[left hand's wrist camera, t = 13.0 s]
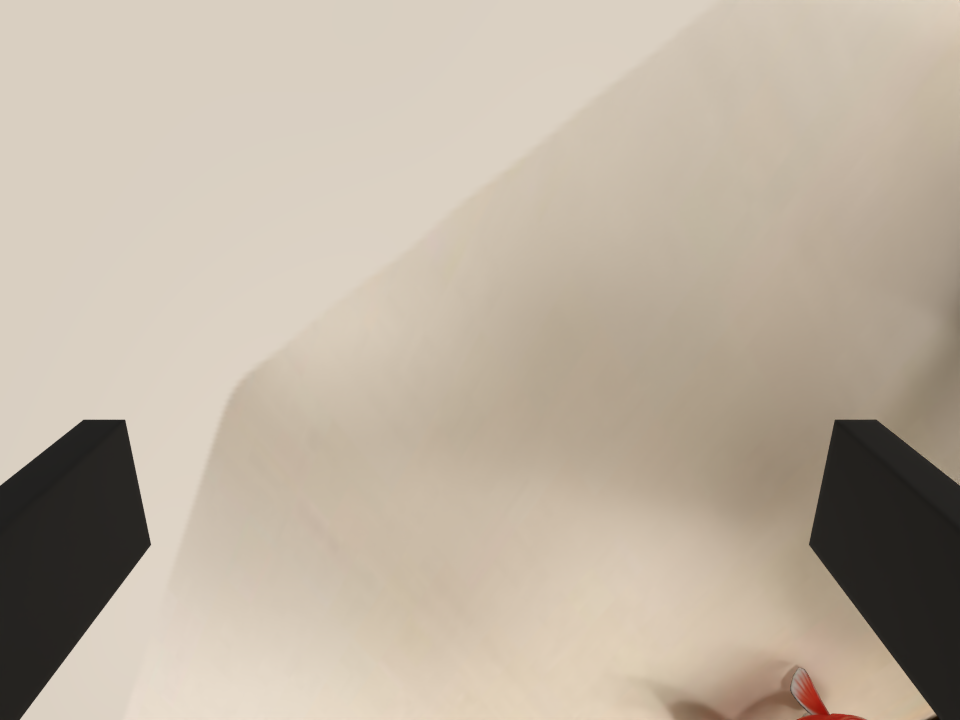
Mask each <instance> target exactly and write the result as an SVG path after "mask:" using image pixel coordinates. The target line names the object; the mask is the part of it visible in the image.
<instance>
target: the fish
mask: <svg viewBox="0 0 960 720" xmlns="http://www.w3.org/2000/svg"><path fill="white" fill-rule="evenodd" d="M790 691H791V693H792V695H793V696H794V697H795V699H796V700H797V701H798V702H799V704H800V705H801V706H802V707H803V708H804V709H805V710H806V711H807V713H806V714H804V715H803V717H802V718H799V719H797V720H866V719H864V718H862V717H858V716H853V715H845V714H831V715H830V714H829V712H828V711H827V709H826V707H825V706H824V704H823V702H822V701H821V699H820V697H819V695H818V693H817V691H816V689H815V687H814V685H813V683H812V681H811V679H810V677H809V675H808V674H807V672H806V671H805V669H803V668H799V667H798V669H797V670H796V672H795V674H794V675H793V678H792V682H791V686H790Z"/></svg>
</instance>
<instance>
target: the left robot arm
mask: <svg viewBox="0 0 960 720" xmlns="http://www.w3.org/2000/svg"><path fill="white" fill-rule="evenodd" d="M150 545H151V543H150V538H149V533H148V528H147V523H146V518H145V514H144V509H143V504H142V499H141V494H140V489H139V485H138V480H137V475H136V470H135V465H134V460H133V456H132V451H131V446H130V441H129V436H128V431H127V427H126V422H125V420H83V421H82V422H80V423H79V424H78V425H77V426H75V427H74V428H73V429H71V430H70V431H69V432H68V433H66V434H65V435H64V436H63V437H61V438H60V439H59V440H57V441H56V442H55V443H54V444H52V445H51V446H50V447H49V448H47V449H46V450H45V451H44V452H42V453H41V454H40V455H39V456H37V457H36V458H35V459H33V460H32V461H31V462H30V463H29V464H27V465H26V466H25V467H23V468H22V469H21V470H20V471H18V472H17V473H16V474H15V475H13V476H12V477H11V478H9V479H8V480H7V481H6V482H4V483H3V484H2V485H1V486H0V720H20V719H21V717H22V716H23V714H24V713H25V712H26V710H27V709H28V708H29V707H30V705H31V704H32V702H33V701H34V700H35V699H36V697H37V696H38V695H39V693H40V692H41V691H42V689H43V688H44V687H45V685H46V684H47V682H48V681H49V680H50V679H51V677H52V676H53V675H54V673H55V672H56V671H57V669H58V668H59V667H60V665H61V664H62V663H63V661H64V660H65V659H66V657H67V656H68V654H69V653H70V652H71V651H72V649H73V648H74V647H75V645H76V644H77V642H78V641H79V640H80V639H81V637H82V636H83V635H84V633H85V632H86V631H87V629H88V628H89V627H90V625H91V624H92V622H93V621H94V620H95V619H96V617H97V616H98V615H99V613H100V612H101V611H102V609H103V608H104V607H105V605H106V604H107V603H108V601H109V600H110V599H111V597H112V596H113V595H114V593H115V592H116V591H117V589H118V588H119V587H120V585H121V584H122V583H123V581H124V580H125V579H126V577H127V576H128V575H129V573H130V572H131V571H132V569H133V568H134V567H135V565H136V564H137V563H138V561H139V560H140V559H141V557H142V556H143V555H144V553H145V552H146V551H147V549H148V548H149V547H150ZM809 545H810V547H811V548H812V549H813V551H814V552H815V553H816V555H817V556H818V557H819V559H820V560H821V561H822V563H823V564H824V565H825V567H826V568H827V569H828V571H829V572H830V573H831V575H832V576H833V577H834V579H835V580H836V581H837V583H838V584H839V585H840V587H841V588H842V589H843V591H844V592H845V593H846V595H847V596H848V597H849V599H850V600H851V601H852V603H853V604H854V605H855V607H856V608H857V609H858V611H859V612H860V613H861V615H862V616H863V617H864V619H865V620H866V621H867V623H868V624H869V625H870V627H871V628H872V629H873V631H874V632H875V633H876V635H877V636H878V637H879V639H880V640H881V641H882V643H883V644H884V645H885V647H886V648H887V649H888V651H889V652H890V653H891V655H892V656H893V657H894V659H895V660H896V661H897V663H898V664H899V665H900V667H901V668H902V669H903V671H904V672H905V673H906V675H907V676H908V677H909V679H910V680H911V681H912V683H913V684H914V685H915V687H916V688H917V689H918V691H919V692H920V693H921V695H922V696H923V697H924V699H925V700H926V701H927V703H928V704H929V705H930V707H931V708H932V709H933V711H934V712H935V713H936V715H937V716H938V717H939V719H940V720H960V486H959V485H958V484H957V483H956V482H954V481H953V480H952V479H951V478H949V477H948V476H947V475H945V474H944V473H943V472H942V471H940V470H939V469H938V468H937V467H935V466H934V465H933V464H932V463H930V462H929V461H928V460H927V459H925V458H924V457H923V456H921V455H920V454H919V453H918V452H916V451H915V450H914V449H913V448H911V447H910V446H909V445H908V444H906V443H905V442H904V441H903V440H901V439H900V438H899V437H897V436H896V435H895V434H894V433H892V432H891V431H890V430H889V429H887V428H886V427H885V426H884V425H882V424H881V423H880V422H878V421H877V420H835V422H834V427H833V431H832V436H831V441H830V446H829V451H828V456H827V460H826V465H825V470H824V475H823V480H822V485H821V489H820V494H819V499H818V504H817V509H816V514H815V518H814V523H813V528H812V533H811V538H810V543H809Z"/></svg>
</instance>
